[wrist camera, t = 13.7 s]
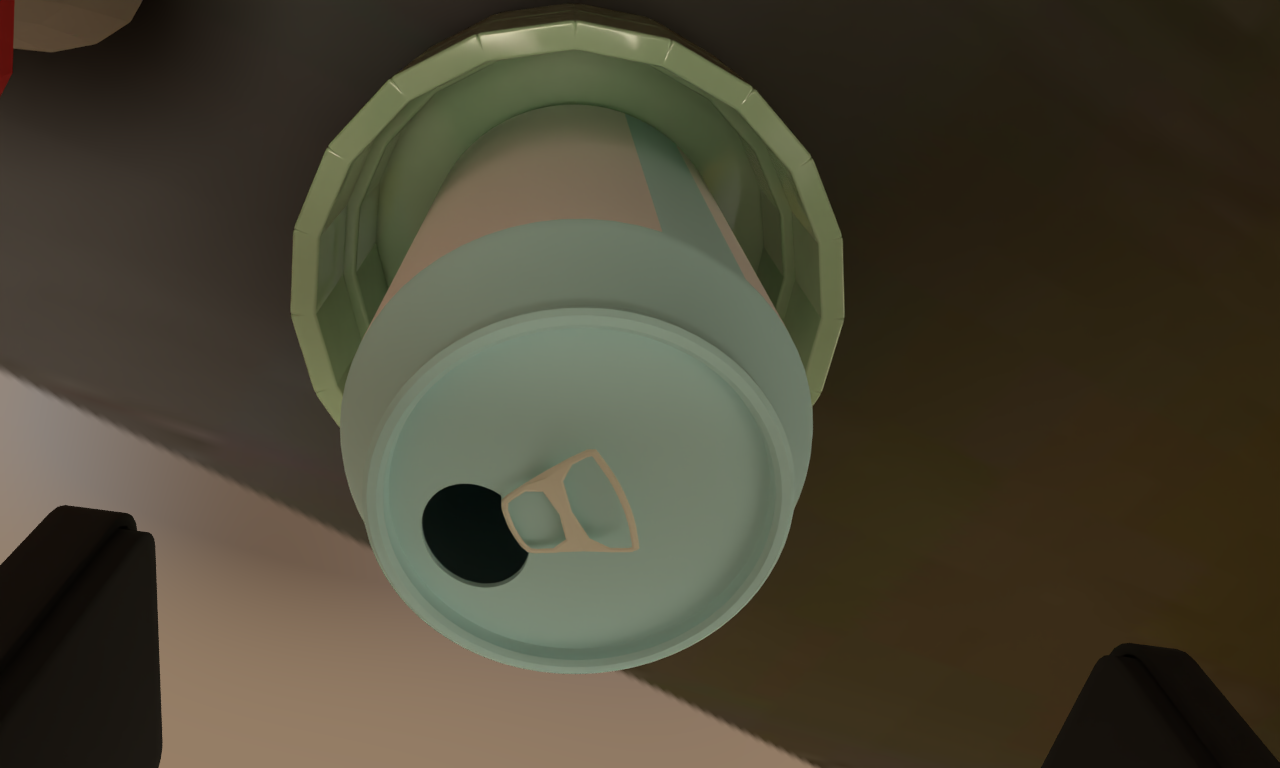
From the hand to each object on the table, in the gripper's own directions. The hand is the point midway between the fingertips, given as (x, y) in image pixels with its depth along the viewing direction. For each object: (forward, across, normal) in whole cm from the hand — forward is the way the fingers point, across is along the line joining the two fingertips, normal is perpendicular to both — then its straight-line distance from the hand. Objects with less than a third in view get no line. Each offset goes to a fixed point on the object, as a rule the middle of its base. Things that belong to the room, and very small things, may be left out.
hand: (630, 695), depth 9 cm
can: (+16, +1, 0) cm, 16 cm away
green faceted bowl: (+16, +1, 0) cm, 16 cm away
